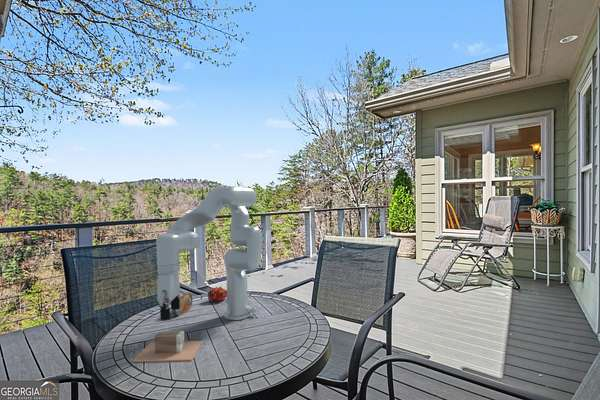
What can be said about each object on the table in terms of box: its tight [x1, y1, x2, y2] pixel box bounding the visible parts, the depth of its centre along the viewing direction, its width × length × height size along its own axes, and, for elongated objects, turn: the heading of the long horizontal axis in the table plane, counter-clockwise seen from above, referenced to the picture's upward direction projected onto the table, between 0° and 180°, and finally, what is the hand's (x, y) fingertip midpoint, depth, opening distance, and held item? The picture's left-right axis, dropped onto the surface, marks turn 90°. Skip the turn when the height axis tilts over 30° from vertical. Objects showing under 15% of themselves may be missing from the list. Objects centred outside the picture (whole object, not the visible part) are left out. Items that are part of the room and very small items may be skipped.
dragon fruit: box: [207, 286, 227, 303], centre depth 172 cm, size 8×8×12 cm
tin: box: [170, 292, 193, 317], centre depth 156 cm, size 15×3×8 cm, turn 168°
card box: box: [154, 330, 185, 353], centre depth 116 cm, size 4×9×6 cm, turn 92°
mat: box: [132, 340, 204, 363], centre depth 116 cm, size 20×14×1 cm
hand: (170, 314), depth 117 cm, fingers open, 9 cm apart
